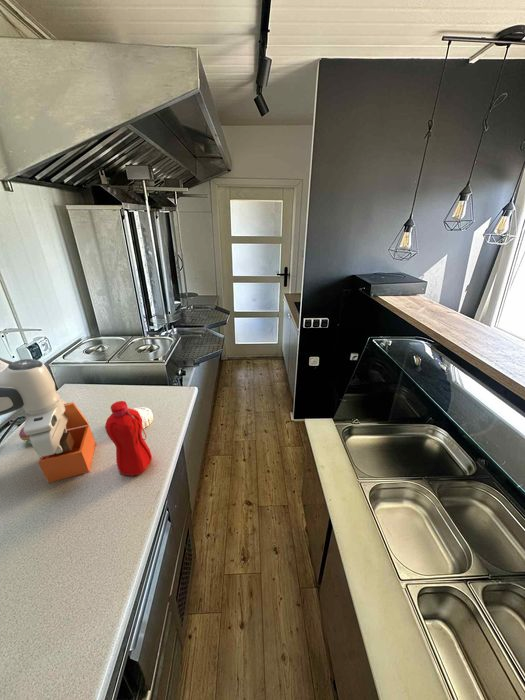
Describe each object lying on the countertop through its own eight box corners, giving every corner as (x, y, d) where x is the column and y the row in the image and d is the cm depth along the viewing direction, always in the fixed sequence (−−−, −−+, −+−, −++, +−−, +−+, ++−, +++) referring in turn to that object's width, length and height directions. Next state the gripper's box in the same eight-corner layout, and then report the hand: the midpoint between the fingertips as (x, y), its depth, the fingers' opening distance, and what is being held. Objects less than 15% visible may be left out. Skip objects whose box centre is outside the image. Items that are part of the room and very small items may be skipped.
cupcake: (27, 436, 109) (14, 411, 104) (53, 429, 112) (42, 404, 107) (22, 451, 102) (8, 425, 97) (50, 443, 106) (38, 417, 100)
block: (54, 456, 89) (49, 445, 87) (58, 445, 92) (53, 435, 90) (71, 451, 90) (66, 441, 88) (74, 442, 94) (69, 431, 92)
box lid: (73, 404, 90) (73, 401, 90) (29, 412, 86) (30, 410, 87) (88, 424, 101) (88, 422, 101) (50, 433, 97) (50, 431, 98)
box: (89, 471, 93) (81, 452, 89) (48, 482, 90) (38, 462, 86) (95, 443, 105) (88, 424, 101) (59, 452, 101) (51, 433, 98)
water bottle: (146, 479, 90) (128, 416, 79) (115, 475, 92) (93, 412, 81) (160, 457, 98) (146, 397, 87) (131, 453, 100) (114, 394, 89)
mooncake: (117, 421, 116) (115, 414, 114) (146, 409, 123) (144, 402, 121) (127, 437, 108) (125, 429, 106) (158, 422, 115) (156, 415, 113)
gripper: (44, 393, 92) (59, 426, 98) (20, 435, 75) (40, 472, 81) (66, 389, 94) (80, 422, 100) (48, 429, 77) (66, 465, 83)
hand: (62, 445), depth 90 cm, fingers closed on block, 4 cm apart
